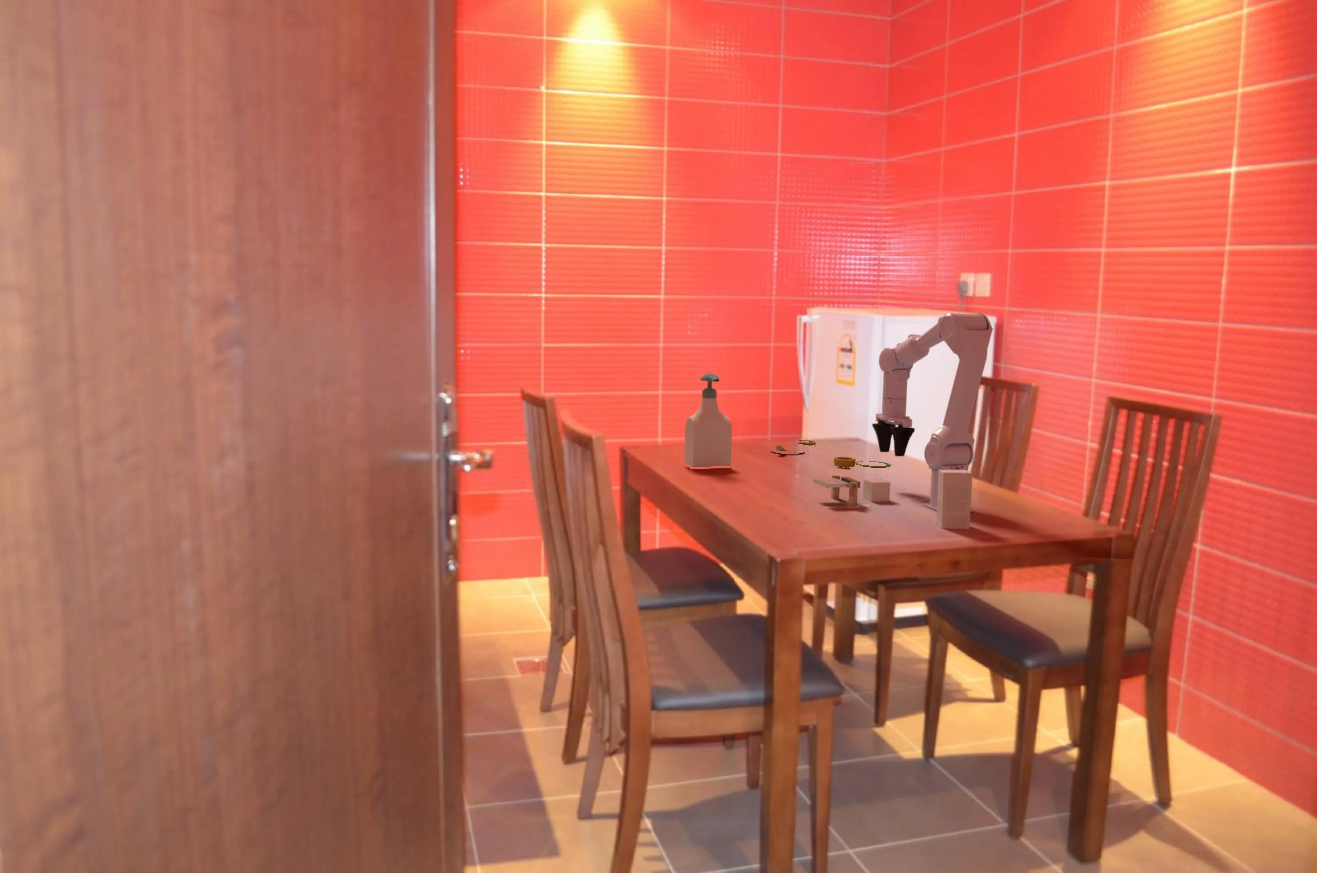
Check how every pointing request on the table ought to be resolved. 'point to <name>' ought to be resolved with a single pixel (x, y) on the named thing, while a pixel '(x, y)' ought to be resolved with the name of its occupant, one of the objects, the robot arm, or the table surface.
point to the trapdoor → (835, 482)
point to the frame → (852, 495)
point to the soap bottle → (708, 431)
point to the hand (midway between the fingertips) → (891, 454)
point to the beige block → (876, 490)
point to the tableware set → (839, 458)
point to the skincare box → (954, 499)
